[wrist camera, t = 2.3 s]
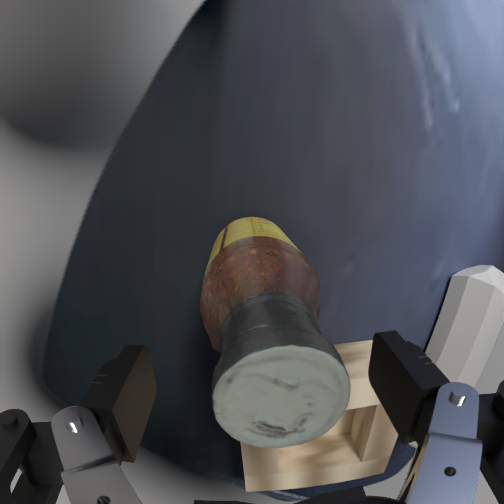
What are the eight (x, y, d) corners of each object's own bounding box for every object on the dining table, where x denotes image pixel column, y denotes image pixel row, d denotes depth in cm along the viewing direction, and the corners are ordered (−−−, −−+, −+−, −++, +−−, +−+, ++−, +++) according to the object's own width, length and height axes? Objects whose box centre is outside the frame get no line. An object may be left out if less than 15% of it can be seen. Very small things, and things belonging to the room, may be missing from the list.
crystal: (447, 442, 31) (526, 274, 25) (423, 467, 27) (517, 278, 21) (410, 416, 37) (474, 254, 31) (381, 436, 33) (455, 254, 27)
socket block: (392, 336, 30) (417, 367, 24) (370, 440, 34) (383, 472, 28) (236, 351, 30) (235, 389, 24) (245, 454, 34) (246, 491, 28)
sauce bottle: (245, 298, 28) (247, 495, 9) (199, 243, 27) (113, 398, 8) (305, 253, 28) (410, 411, 8) (261, 196, 26) (306, 265, 7)
